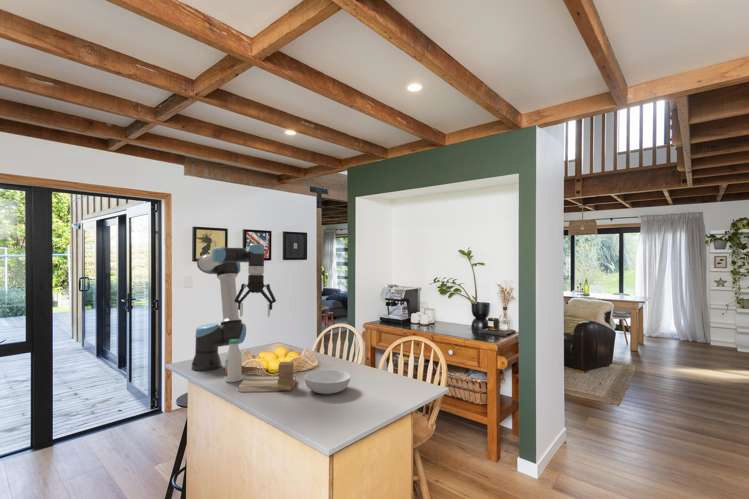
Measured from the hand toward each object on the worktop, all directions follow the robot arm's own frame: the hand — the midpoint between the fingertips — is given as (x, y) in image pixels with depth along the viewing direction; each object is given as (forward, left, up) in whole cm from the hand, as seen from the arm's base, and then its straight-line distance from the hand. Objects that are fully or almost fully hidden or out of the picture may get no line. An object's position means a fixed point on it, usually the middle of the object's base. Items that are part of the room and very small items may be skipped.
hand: (255, 316), depth 196 cm
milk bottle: (+3, -9, -31) cm, 33 cm away
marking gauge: (+17, +18, -30) cm, 39 cm away
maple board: (+13, +10, -31) cm, 35 cm away
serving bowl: (+21, +38, -31) cm, 53 cm away
